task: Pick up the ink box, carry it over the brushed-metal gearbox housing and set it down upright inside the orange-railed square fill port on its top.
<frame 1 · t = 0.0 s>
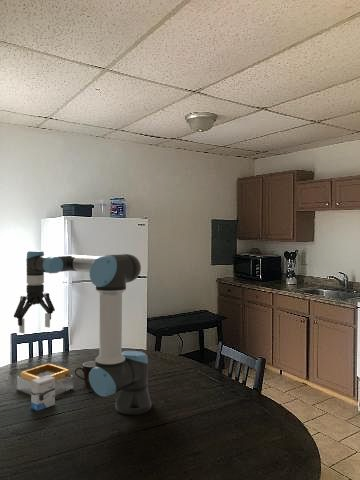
hand: (35, 329, 183), 28 cm above the table, fingers open, 13 cm apart
coffee mug: (88, 384, 191), on the table
gearbox: (45, 389, 185), on the table
ink box: (43, 406, 166), on the table
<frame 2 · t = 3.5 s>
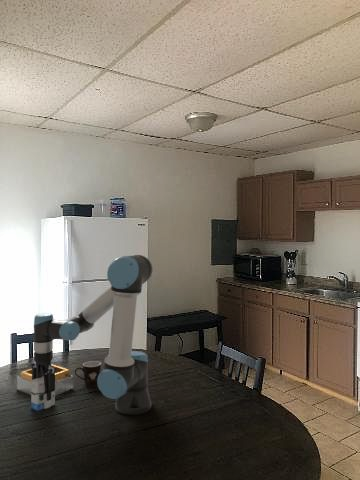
hand: (43, 405, 166), 0 cm above the table, fingers closed on ink box, 5 cm apart
ink box: (43, 406, 166), on the table, touching gripper
everything else where it was.
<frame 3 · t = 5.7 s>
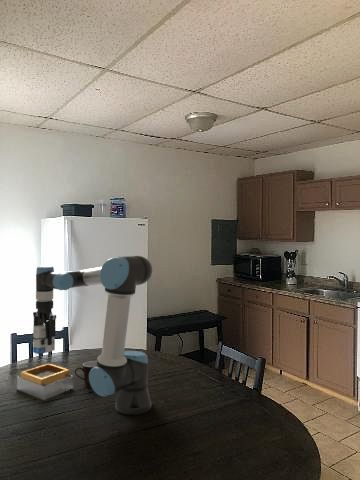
hand: (44, 350, 180), 19 cm above the table, fingers closed on ink box, 5 cm apart
ink box: (44, 351, 180), point 19 cm above the table, touching gripper
everything else where it was.
when the fingers open (8 cm above the table, at t = 8.2 s): ink box drops 2 cm, resting on gearbox.
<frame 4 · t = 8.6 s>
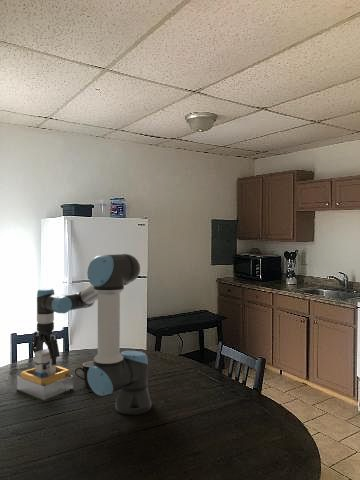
hand: (45, 369, 185), 9 cm above the table, fingers open, 10 cm apart
ink box: (45, 376, 185), point 6 cm above the table, touching gearbox
everything else where it was.
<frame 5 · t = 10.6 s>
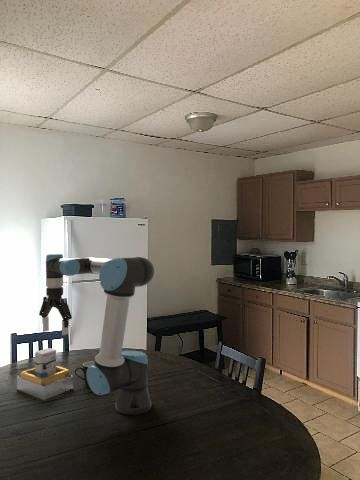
hand: (55, 332, 183), 27 cm above the table, fingers open, 13 cm apart
nothing on the table moved.
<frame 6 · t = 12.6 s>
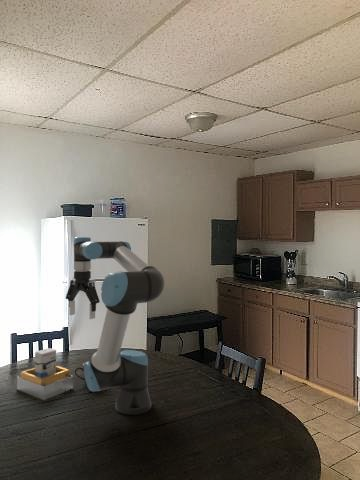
hand: (82, 316, 182), 35 cm above the table, fingers open, 13 cm apart
nothing on the table moved.
at the end: ink box inside the target area on the gearbox (0.3 cm from its centre), point 6.1 cm above the gearbox's base; ink box tilted 0°; the gripper is holding nothing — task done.
